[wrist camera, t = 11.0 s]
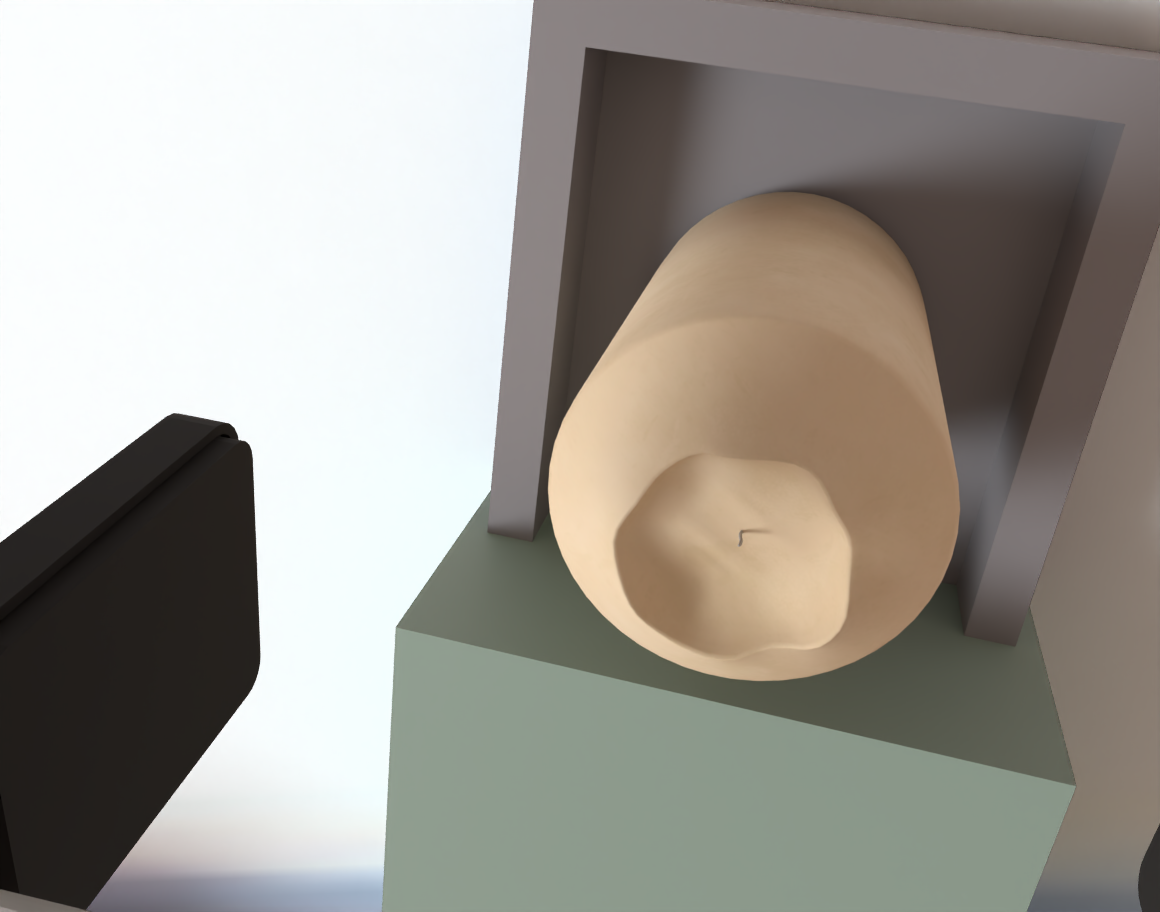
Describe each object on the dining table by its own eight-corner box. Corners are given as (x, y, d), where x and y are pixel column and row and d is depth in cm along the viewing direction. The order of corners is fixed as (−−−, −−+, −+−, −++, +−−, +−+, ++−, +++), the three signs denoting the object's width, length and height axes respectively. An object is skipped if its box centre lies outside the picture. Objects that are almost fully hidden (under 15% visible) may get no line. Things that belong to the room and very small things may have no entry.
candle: (773, 127, 21) (710, 251, 12) (985, 314, 22) (1075, 566, 13) (596, 333, 24) (438, 562, 15) (792, 497, 24) (753, 814, 15)
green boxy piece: (550, -29, 22) (427, -22, 16) (1194, 57, 20) (1347, 101, 14) (465, 895, 33) (371, 1116, 26) (878, 1007, 31) (883, 1273, 24)
